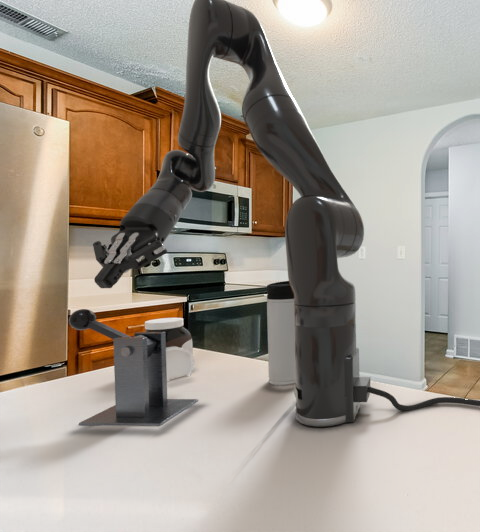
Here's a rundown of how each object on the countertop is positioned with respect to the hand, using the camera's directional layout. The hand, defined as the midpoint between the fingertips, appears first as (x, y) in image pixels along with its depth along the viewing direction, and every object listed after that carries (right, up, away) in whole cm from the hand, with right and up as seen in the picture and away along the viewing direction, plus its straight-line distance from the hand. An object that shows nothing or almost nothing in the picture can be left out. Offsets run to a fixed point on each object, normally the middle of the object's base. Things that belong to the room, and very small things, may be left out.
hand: (102, 285), depth 61 cm
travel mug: (+27, -20, +10) cm, 35 cm away
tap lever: (+4, -9, -4) cm, 10 cm away
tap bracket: (+9, -20, -4) cm, 22 cm away
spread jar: (+1, -20, +16) cm, 26 cm away
